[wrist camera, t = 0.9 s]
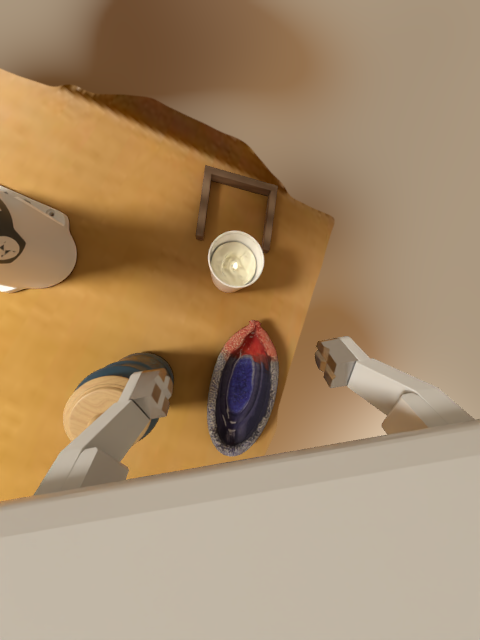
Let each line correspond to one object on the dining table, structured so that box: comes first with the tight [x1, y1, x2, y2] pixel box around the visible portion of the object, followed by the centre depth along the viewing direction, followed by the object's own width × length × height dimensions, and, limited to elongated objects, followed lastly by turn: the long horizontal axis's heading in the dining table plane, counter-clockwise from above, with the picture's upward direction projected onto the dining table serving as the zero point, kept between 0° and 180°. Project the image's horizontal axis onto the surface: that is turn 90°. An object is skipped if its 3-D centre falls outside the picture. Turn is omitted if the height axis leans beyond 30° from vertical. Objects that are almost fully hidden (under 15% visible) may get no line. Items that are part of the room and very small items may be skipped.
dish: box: [207, 320, 279, 456], centre depth 41 cm, size 16×31×5 cm, turn 166°
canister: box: [63, 353, 174, 446], centre depth 30 cm, size 13×13×18 cm
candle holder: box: [208, 231, 264, 293], centre depth 36 cm, size 10×10×12 cm
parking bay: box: [196, 165, 278, 254], centre depth 41 cm, size 16×17×2 cm
